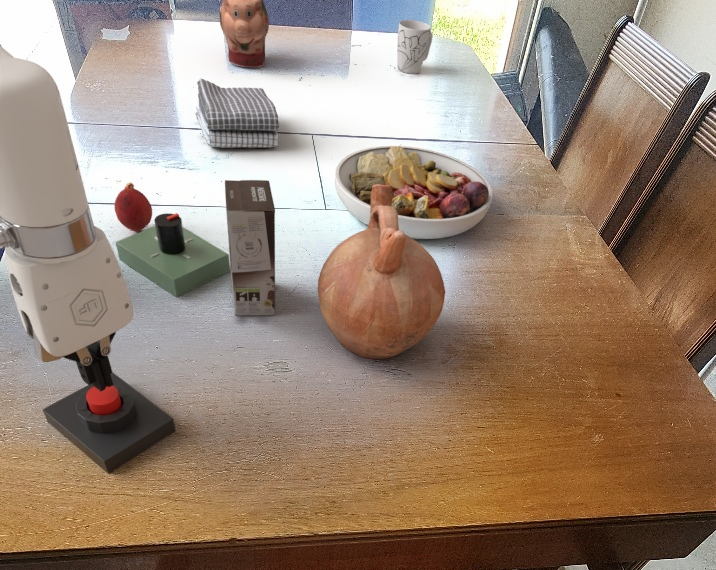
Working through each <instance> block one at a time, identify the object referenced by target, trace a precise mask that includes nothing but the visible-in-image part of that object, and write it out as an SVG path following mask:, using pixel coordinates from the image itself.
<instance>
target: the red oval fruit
mask: <svg viewBox="0 0 716 570" xmlns="http://www.w3.org/2000/svg"><path fill="white" fill-rule="evenodd" d="M124 186H125V187H124V188H123V189H122V190H121V191H119V193H118V194H117V196H116V198H115V201H114V205H113V206H114V212H115V216H116V218H117V220H118V222H119V223H120V224H121V225H122V226H123V227H125V228H126V229H128V230H130V231H133V232H135V233H139V232H142V231H143V230H145V228H146V227H147V226H148V225H149V224H150V223H151V221H152V217H153V206H152V204H151V202H150V200H149V199H148V198H147V197H146V195H145V194H144V193H143V192H141V191H140V190H138V189H136V188H135V185H134V184H133V182H131V181H130V182H127V183H126V185H124Z"/></svg>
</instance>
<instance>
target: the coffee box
mask: <svg viewBox="0 0 716 570" xmlns="http://www.w3.org/2000/svg"><path fill="white" fill-rule="evenodd" d="M224 192H225V193H224V194H225V210H226V225H227V227H226V228H227V238H228V239H227V240H228V250H229V251H228V252H229V253H228V254H229V265H230V277H231V289H232V298H233V300H232V301H233V310H234V315H235V316H275V315H276V207H275V203H274V198H273V193H272V189H271V184H270V180H266V179H265V180H264V179H261V180H260V179H241V180H231V179H230V180H229V179H226V180H224Z"/></svg>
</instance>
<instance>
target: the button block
mask: <svg viewBox="0 0 716 570" xmlns="http://www.w3.org/2000/svg"><path fill="white" fill-rule="evenodd" d="M110 375H111V378H112V381H113V385H112V386H114V387H115V388H116V389H117V390H118V393H119V396H120V400H121V407H120V409H119V410H118V411H116V412H115V413H113V414H109V415H103V416H101V415H96V414H94V413H93V412H92V411H91V410H90V407H89V404H88V401H87V398H86V394H87V392H88V391H89V390H90V389H91V388H92V387H94V386H93V385H92V384H90V385H88V384H86V385H85V386H84V387H82V388H80V389H78V390H76V391H74V392H72V393H70V394H68V395H67V396H65V397H63V398H61V399H59V400H57V401H55V402H53V403H52V404H50V405H48V406H46V407H44V408H42V413H43V415H44V417H45V419H46V421H47V423H48V424H49V425H50V426H51V427H53V428H54V429H55V430H56V431H57V432H59V434H61V435H62V436H63V437H64V438H65V439H67V440H68V441H69V442H71V444H73V445H74V446H75V447H76V448H77V449H79V451H81V452H82V453H83V454H84V455H85V456H86V457H88V458H89V459H90V460H91V461H92V462H94V463H95V465H97V466H98V467H99V468H101V469H102V470H103V471H104V472H105V473H107V474H108V475H110V473H112V472H114V471H115V470H117V469H119V468H120V467H122V466H123V465H125V464H126V463H128V462H130V461H132V460H133V459H135V458H136V457H137V456H139V455H141V454H143V453H144V452H145V451H147V450H149V449H150V448H152V447H154V446H155V445H156V444H158V443H160V442H161V441H162V440H164V439H165V438H167V437H170V435H172V434H174V433H175V432H177V430H176V425H175V424H176V423H175V419H174V418H173V417H172V416H171V415H169V413H167V412H165V410H163V409H161V408H160V407H159V406H158V405H156V404H155V403H154V402H152V401H151V400H150V399H149V398H147V397H146V396H145V395H143V394H142V393H141V392H139V391H138V390H137V389H136V388H134V387H132V385H131V384H129V383H127V382H126V381H125V380H124V379H122V378H121V377H119V376H118V375H117V374H115V373H114V371H112V373H111V374H110Z"/></svg>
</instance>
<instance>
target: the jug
mask: <svg viewBox="0 0 716 570" xmlns="http://www.w3.org/2000/svg"><path fill="white" fill-rule="evenodd" d="M391 205H392V186H391V185H380V184H377V185H373V186H372V191H371V207H370V221H369V224H368V225H367V227H366V229H364V230H361V231H359V232H356V233H355V234H352V235H351V236H348V237H347V238H345V239H344V240H343V241H341V242H340V243H339V244H337V245H336V247H335V248H334V249H333V250H332V251H331V252H330V254H329V255H328V257H327V258H326V259H325V261H324V262H323V265H322V267H321V270H320V272H319V275H318V279H317V296H318V297H317V298H318V302H319V303H318V305H319V309H320V312H321V315H322V318H323V319H324V321H325V323H326V325H327V327H328V329H329V330H330V332H331V333H332V334H333V336H334V337H335V338H336V339H337V341H338V342H339V343H340V344H341V346H342V347H343V348H345V349H346V350H347V351H349V352H351V353H352V354H355V355H357V356H360V357H362V358H365V359H370V360H386V359H390V358H393V357H396V356H398V355H400V354H402V353H403V352H405V351H408V350H409V349H410V348H412V347H413V346H415V345H417V344H418V343H419V342H421V341H422V340H424V339H425V338H426V337H427V336H428V335H429V333H430V332H431V331H432V329H433V328H434V326H435V325H436V323H437V321H438V320H439V318H440V316H441V313H442V311H443V308H444V304H445V298H446V288H445V284H444V280H443V274H442V272H441V270H440V268H439V265H438V264H437V262H436V259H434V257H433V256H432V255H431V253H430V252H429V251H428V250H427V249H426V248H425V247H424V246H423V245H422V244H420V243H419V242H418V241H416V240H415V238H410V237H409V236H407V235H405V234H404V232H403V231H399V226H398V213H397V210H396V209H395V208H394V207H392V206H391Z"/></svg>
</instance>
